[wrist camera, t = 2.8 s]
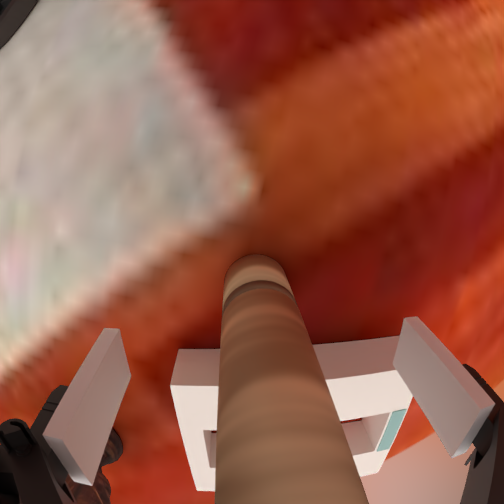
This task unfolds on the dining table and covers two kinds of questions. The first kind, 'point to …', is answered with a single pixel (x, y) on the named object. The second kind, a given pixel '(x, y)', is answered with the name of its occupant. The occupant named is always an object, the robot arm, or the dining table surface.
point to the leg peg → (275, 400)
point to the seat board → (339, 384)
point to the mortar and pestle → (98, 476)
